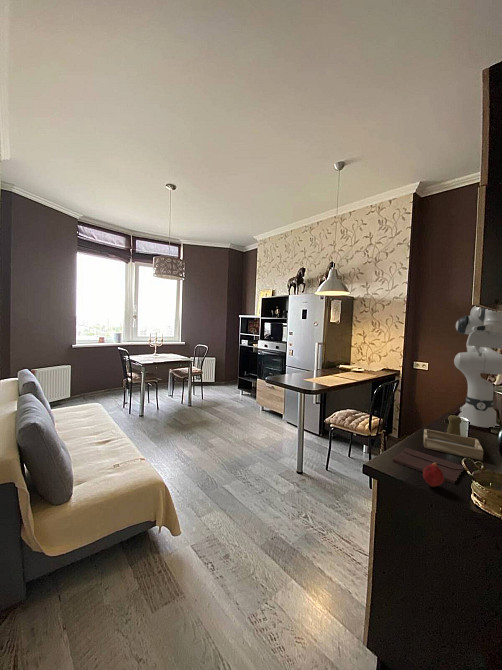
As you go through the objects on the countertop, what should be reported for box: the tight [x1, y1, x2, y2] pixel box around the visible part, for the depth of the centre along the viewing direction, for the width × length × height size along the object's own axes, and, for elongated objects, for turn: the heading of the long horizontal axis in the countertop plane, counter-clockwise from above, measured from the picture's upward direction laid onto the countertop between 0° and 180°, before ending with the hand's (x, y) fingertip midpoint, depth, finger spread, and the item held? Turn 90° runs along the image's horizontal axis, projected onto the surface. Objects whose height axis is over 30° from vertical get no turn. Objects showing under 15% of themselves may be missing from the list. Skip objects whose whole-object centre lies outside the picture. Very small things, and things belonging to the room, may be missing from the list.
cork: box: [446, 414, 463, 436], centre depth 137 cm, size 6×6×11 cm
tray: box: [423, 428, 484, 461], centre depth 127 cm, size 14×20×4 cm
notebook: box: [392, 447, 465, 485], centre depth 110 cm, size 15×20×2 cm
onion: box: [422, 463, 445, 488], centre depth 95 cm, size 6×6×8 cm
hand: (491, 357), depth 139 cm, fingers open, 8 cm apart
